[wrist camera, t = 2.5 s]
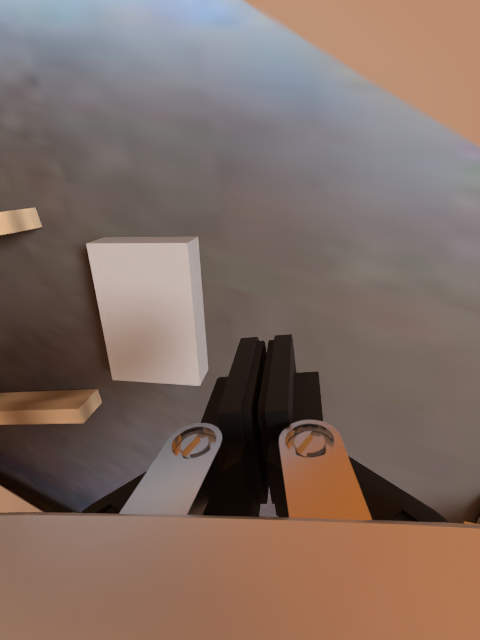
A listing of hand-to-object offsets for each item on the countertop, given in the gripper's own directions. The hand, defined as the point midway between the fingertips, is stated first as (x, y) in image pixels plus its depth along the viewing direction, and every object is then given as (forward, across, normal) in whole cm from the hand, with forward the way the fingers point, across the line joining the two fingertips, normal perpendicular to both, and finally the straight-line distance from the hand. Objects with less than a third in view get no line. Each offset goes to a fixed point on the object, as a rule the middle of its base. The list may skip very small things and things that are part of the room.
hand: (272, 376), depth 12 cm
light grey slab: (+11, +8, +1) cm, 14 cm away
